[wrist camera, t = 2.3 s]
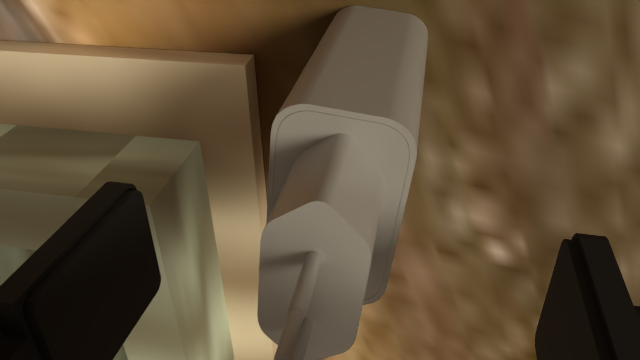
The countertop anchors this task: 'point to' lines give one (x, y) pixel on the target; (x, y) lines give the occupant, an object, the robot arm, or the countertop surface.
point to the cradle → (145, 178)
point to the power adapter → (340, 181)
